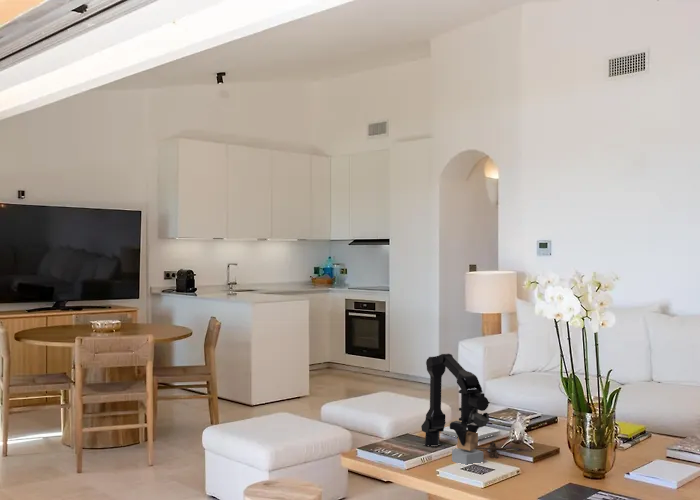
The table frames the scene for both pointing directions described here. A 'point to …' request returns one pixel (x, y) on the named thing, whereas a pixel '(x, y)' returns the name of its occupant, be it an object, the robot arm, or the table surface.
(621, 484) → the table surface
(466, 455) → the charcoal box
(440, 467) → the table surface
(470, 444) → the walnut cube
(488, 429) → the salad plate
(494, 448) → the bear figurine
